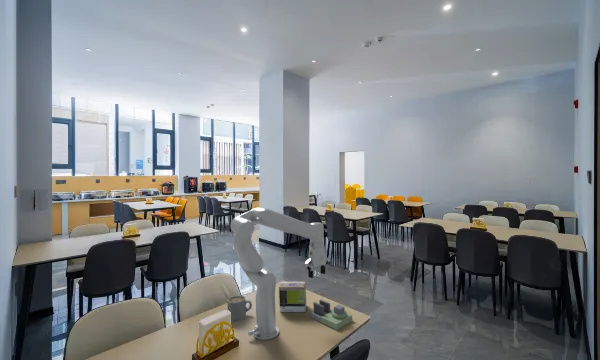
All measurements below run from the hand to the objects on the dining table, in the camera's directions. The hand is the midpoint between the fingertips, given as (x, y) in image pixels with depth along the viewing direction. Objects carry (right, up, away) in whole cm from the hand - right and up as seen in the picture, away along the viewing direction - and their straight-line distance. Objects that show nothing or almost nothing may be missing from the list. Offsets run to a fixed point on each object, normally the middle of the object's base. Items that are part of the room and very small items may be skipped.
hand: (316, 275), depth 156 cm
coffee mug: (-43, -24, +2) cm, 50 cm away
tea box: (-13, -23, +10) cm, 28 cm away
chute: (+3, -22, -1) cm, 22 cm away
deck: (+8, -22, -4) cm, 24 cm away
